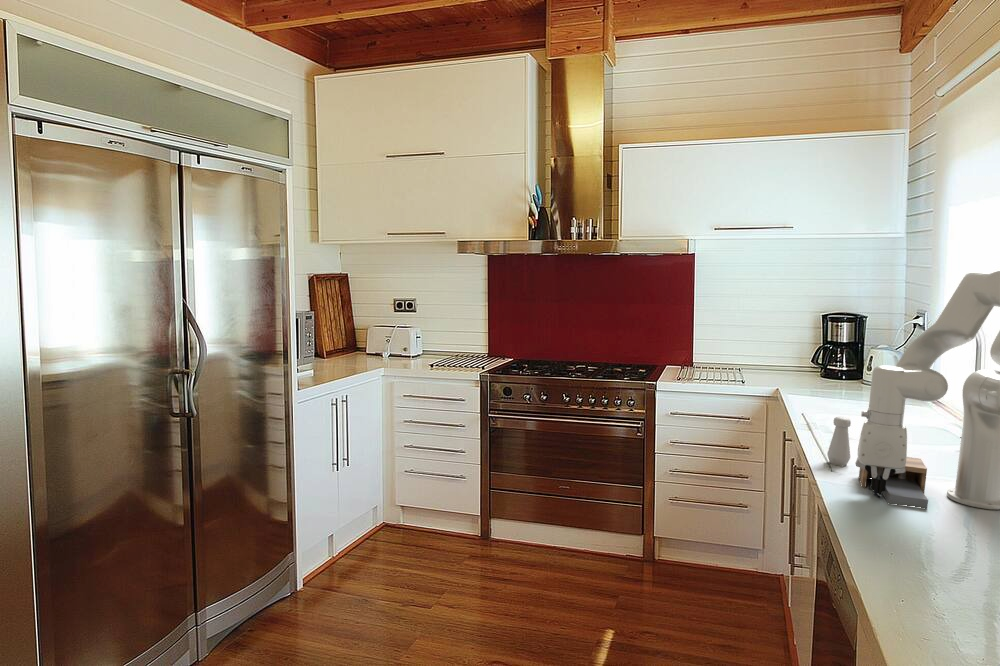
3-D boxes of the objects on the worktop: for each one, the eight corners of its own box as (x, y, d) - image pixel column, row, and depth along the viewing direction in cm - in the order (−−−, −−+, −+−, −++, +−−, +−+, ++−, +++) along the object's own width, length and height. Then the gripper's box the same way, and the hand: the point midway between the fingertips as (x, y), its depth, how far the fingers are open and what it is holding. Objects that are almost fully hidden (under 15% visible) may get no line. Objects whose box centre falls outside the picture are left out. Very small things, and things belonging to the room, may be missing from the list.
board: (878, 487, 194) (879, 475, 193) (913, 492, 191) (914, 480, 191) (888, 506, 179) (889, 494, 178) (926, 512, 176) (928, 499, 176)
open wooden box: (858, 476, 200) (861, 451, 199) (917, 484, 195) (920, 458, 194) (861, 487, 190) (864, 460, 190) (923, 496, 186) (927, 468, 185)
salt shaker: (850, 468, 207) (855, 420, 206) (827, 465, 209) (832, 418, 208) (848, 462, 213) (852, 416, 211) (825, 459, 215) (830, 414, 213)
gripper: (851, 417, 181) (844, 493, 183) (923, 425, 175) (914, 503, 178) (849, 411, 188) (842, 484, 190) (918, 419, 182) (910, 494, 185)
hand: (877, 493), depth 184 cm, fingers closed
